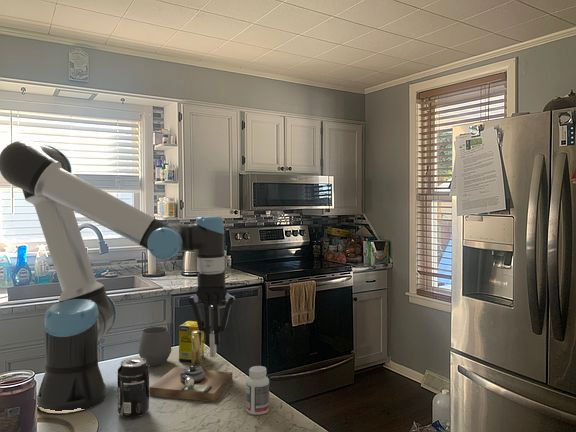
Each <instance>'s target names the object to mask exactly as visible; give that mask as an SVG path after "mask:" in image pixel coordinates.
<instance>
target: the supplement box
mask: <svg viewBox="0 0 576 432" xmlns="http://www.w3.org/2000/svg"><path fill="white" fill-rule="evenodd" d="M178 330H179V331H178V337H179V338H178V361H179V362H187V363H192V331H195V330H199V328H198V325H197V321H196V320H195V321H193V320H187V321H185V322H183V323H182V324H180V325H179V326H178ZM204 356H205V332H203V331H202V358H204Z"/></svg>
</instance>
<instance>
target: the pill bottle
mask: <svg viewBox="0 0 576 432" xmlns="http://www.w3.org/2000/svg"><path fill="white" fill-rule="evenodd" d="M267 374H268V373H267V367H266V366H262V365H255V366H254V365H253V366H251V367H250V368H249V369H248V375H249V376H248V377H247V378H246V380H245V381H246V382H245V408H246V409H245V410H246V412H247V413H249V414H250V415H253V416H254V415H256V416H259V415H265V414H266V413H268V412H269V409H270V378H268V376H267Z"/></svg>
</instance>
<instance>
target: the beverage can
mask: <svg viewBox="0 0 576 432" xmlns="http://www.w3.org/2000/svg"><path fill="white" fill-rule="evenodd" d="M149 387H150V366H148V365H147V364H146V359H144V358H141V357H129V358H126V359H123V360H122V361H120V366H119V367H118V368H117V413H118V415H119V416H120V417H123V418H124V419H129V420H131V419H138V418H141V417H143V416H144V415H145V414H146V413H147V412H149V410H150V395H149Z"/></svg>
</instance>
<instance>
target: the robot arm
mask: <svg viewBox="0 0 576 432" xmlns="http://www.w3.org/2000/svg"><path fill="white" fill-rule="evenodd" d="M0 175H1V176H2V178H3V179H4V180H5V181H7V182H8V183H9V184H11V185H13V186H14V187H16V188H18V189H21V190H22V193H23V196H24V199H25V201H26V202H28V203H29V204H32V206H34V208H35V211H36V214H37V218H38V221H39V224H40V227H41V229H42V233H43V234H42V235H43V236H44V240H45V242H46V246H47V249H48V252H49V255H50V259H51V260H52V264H53V267H54V270H55V272H56V275H57V279H58V282H59V285H60V289H61V294H60V296H59V297H58V299H57V301H58V302H57V303H54V304H52V305H50V306H49V308H47V310H46V311H45V315H44V322H43V328H44V368H45V369H44V375H43V378H42V380H41V383H40V386H39V389H38V393H37V396H36V406H37V405H38V407H42V408H44V409H50V410H55V411H62V410H74V409H77V408H81V409H85V410H84V411H86V410H89V409H91V408H93V407H96V406H98V405H100V404H101V403H102V402H103V401H104V400H105V399H106V397H107V386H106V384H105V381H104V379H103V375H102V372H101V369H100V366H99V341H101V339H102V338H103V337H104V336H106V335H107V334H109V332H110V330H111V329H112V328H113V326H114V324H115V321H116V319H117V312H118V311H117V307H116V303H115V302H114V300H113V299H112V298H111V296H110V295H109V296H108V294H107V291H106V288H105V286H104V284H103V283H101V282H98V281H97V280H96V277H95V274H94V271H93V267H92V263H91V261H90V258H89V255H88V251H87V249H86V246H85V242H84V240H83V237H82V234H81V233H82V232H81V230H80V227H79V224H78V221H77V218H76V215H75V213H77V214H79V215H81V216H83V217H85V218H87V219H89V220H91V221H93V222H94V223H96V224H98V225H100V226H102V227H104V228H106V229H108V230H110V231H111V232H113V233H115V234H118V235H120V236H121V237H122V238H125V239H128V240H129V241H131V242H134V244H137V245H139V246H140V247H142V248H144V249H146V250H148V251H149V253H150V254H151V255H152V256H153V257H154V258H157V259H160V260H169V259H171V258H174V257H175V256H177V255H178V253H180V252H196V267H197V269H196V270H197V272H198V273H197V290H196V291H195V294H194V295H191V296H190V297H188V302H189V304H190V305H191V307H192V310H193V314H194V317H195V322H197V325H198V328H199V331H203V332H204V334H205V343H206V345H208V346H209V358H215V357H216V355H217V345H219V344H220V341H221V340H220V339H221V338H220V337H221V336H220V333H221V332H224V331H226V328H227V324H228V321H229V315H230V311H231V307H232V304H233V302H234V301H235V299H236V296H235V295H231V294H230V293H228V290H227V288H226V273H225V272H224V271H225V270H226V263H225V262H226V261H225V229H224V228H225V226H224V219H223V218H222V217H221V216H219V215H218V216H217V215H205V216H204V215H203V216H197V217H196V219H195V223H188V224H187V223H186V224H185V223H182V224H181V223H172V224H171V223H168V224H167V223H164V221H163V222H162V221H161V220H159V219H156V218H155V217H152V216H151V215H150V214H147V213H145V212H144V211H142V210H140V209H138V208H136V207H135V206H133V205H130V204H129V203H127V202H125V201H123V200H121V199H119V198H117V197H116V196H114V195H112V194H110V193H108V192H107V191H105V190H103V189H101V188H99V187H97V186H95V185H93V184H91V183H89V182H88V181H86V180H85V179H82V178H80V176H79V177H78V176H77V175H75V174H73V173H72V165H71V163H70V160H69V159H68V157H67V156H66V155H65V154H64V153H63V152H62V151H60V150H58V149H57V148H55V146H54V147H53V146H51V145H46V144H40V143H36V142H34V141H30V140H17V141H14V142H12V143H9V144H8V145H6V146H5V147H4V148H3V150H2V151H1V152H0ZM224 299H225V300H224ZM199 300H200V302H201V303H202V304H203V309H204V318H203V314H202V311H201V307H200V304H199ZM223 301H225V303H226V304H225V306H224V311H223V316H222V321H221V320H220V318H221V315H220V313H221V312H220V311H221V310H220V307H221V303H222V302H223ZM211 307H212V309H213V327H212V312H211V311H212V309H211ZM220 321H221V322H220ZM220 323H221V324H220ZM212 328H213V329H212Z"/></svg>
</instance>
